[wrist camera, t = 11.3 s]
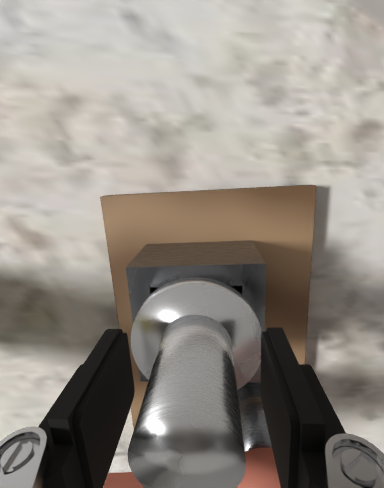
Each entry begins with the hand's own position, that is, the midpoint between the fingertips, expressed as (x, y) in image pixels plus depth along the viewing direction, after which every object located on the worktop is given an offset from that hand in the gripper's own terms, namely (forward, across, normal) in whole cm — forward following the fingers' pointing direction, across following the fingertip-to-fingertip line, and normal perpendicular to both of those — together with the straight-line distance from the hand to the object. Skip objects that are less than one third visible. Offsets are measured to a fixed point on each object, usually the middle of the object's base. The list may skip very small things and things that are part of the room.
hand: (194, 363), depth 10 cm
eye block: (+7, 0, 0) cm, 7 cm away
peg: (+6, 0, 0) cm, 6 cm away
